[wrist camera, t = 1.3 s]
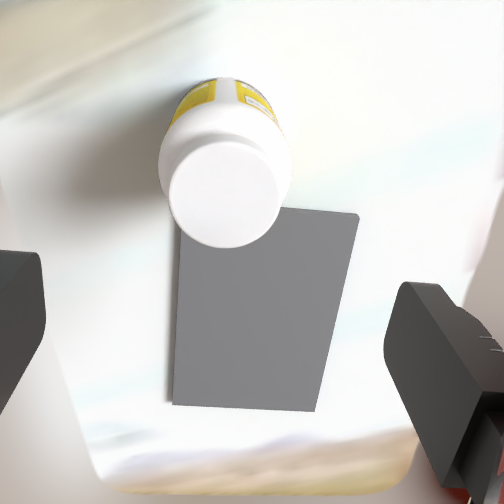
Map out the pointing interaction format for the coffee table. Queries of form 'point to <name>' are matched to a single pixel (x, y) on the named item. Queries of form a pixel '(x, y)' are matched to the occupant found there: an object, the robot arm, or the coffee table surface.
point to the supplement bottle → (224, 164)
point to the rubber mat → (261, 313)
